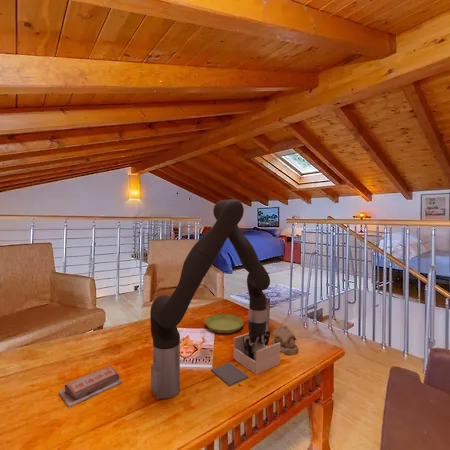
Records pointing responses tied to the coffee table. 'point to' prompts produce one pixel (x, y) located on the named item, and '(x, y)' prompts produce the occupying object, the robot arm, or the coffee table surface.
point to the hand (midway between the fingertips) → (256, 357)
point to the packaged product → (89, 385)
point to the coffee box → (267, 312)
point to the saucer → (224, 323)
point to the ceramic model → (285, 340)
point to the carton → (257, 356)
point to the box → (255, 349)
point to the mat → (229, 374)
